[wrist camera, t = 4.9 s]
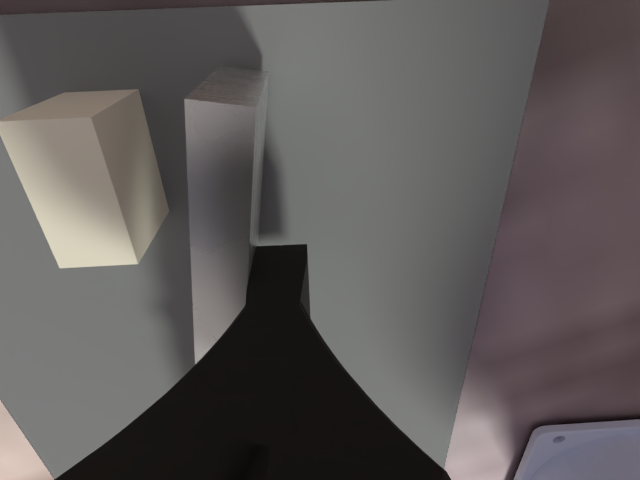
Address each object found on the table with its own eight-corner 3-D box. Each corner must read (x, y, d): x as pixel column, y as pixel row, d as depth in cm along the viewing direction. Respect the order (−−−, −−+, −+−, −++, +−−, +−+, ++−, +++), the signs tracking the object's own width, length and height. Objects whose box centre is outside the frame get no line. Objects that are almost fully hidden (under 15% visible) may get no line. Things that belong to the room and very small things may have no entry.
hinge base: (527, -6, 9) (694, -8, 5) (426, 499, 21) (456, 616, 17) (-202, 21, 9) (-593, 41, 5) (107, 522, 20) (63, 647, 16)
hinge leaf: (251, 399, 14) (241, 498, 11) (216, 398, 14) (196, 497, 11) (273, 72, 9) (262, 108, 6) (215, 64, 8) (177, 97, 6)
